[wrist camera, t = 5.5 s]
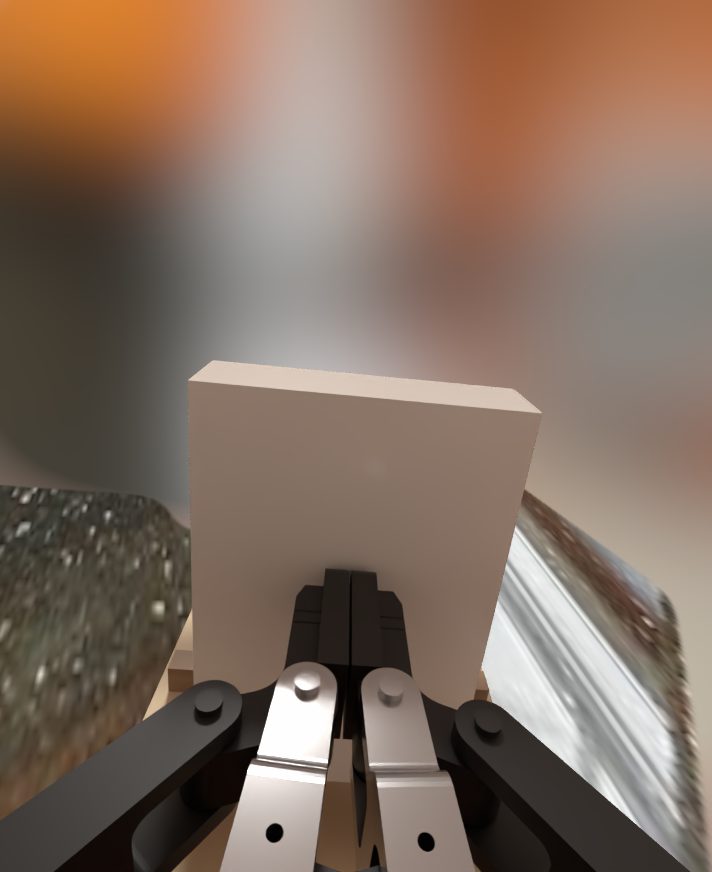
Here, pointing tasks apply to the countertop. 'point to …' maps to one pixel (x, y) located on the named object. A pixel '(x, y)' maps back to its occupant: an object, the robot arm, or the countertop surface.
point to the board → (207, 857)
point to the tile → (350, 513)
